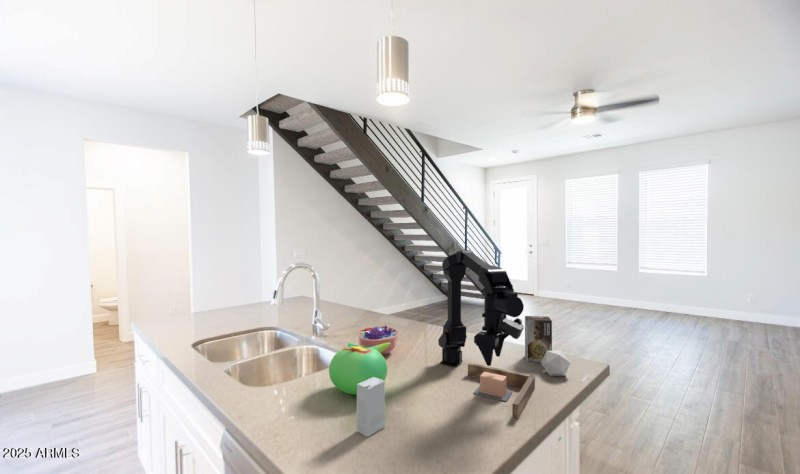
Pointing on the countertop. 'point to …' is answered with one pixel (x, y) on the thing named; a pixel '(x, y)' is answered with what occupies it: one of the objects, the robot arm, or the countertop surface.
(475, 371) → the wooden corner wall
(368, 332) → the cell model
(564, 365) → the die
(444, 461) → the countertop surface
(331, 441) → the countertop surface
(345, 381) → the toy bird
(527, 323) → the coffee box
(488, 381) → the block
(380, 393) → the skincare box
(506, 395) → the mat
